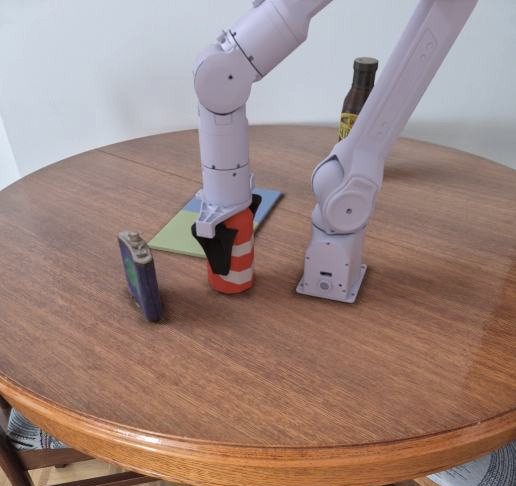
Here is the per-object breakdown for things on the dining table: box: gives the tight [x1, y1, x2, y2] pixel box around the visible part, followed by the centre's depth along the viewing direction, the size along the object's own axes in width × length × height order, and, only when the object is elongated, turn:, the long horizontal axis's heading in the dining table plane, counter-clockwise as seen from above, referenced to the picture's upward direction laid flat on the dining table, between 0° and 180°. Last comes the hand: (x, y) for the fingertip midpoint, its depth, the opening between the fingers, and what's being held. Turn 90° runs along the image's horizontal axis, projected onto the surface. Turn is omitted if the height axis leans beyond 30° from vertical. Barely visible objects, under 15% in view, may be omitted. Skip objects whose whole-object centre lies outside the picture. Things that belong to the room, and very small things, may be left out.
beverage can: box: [205, 207, 256, 295], centre depth 72 cm, size 6×6×12 cm
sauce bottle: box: [336, 56, 379, 144], centre depth 96 cm, size 7×6×20 cm
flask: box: [116, 229, 165, 325], centre depth 69 cm, size 9×3×11 cm, turn 28°
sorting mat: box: [147, 187, 283, 259], centre depth 90 cm, size 24×14×1 cm, turn 160°
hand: (230, 259), depth 73 cm, fingers closed on beverage can, 6 cm apart
